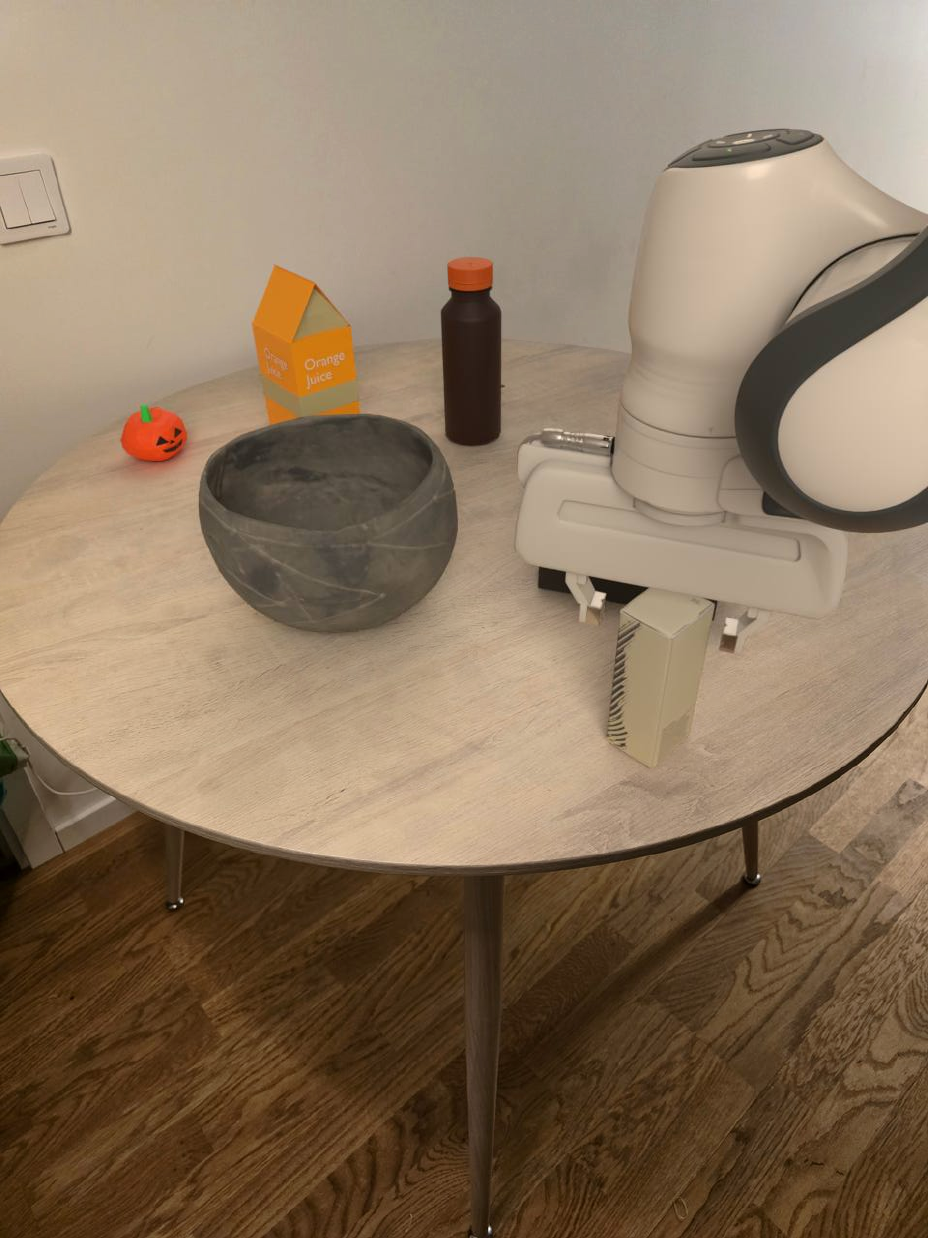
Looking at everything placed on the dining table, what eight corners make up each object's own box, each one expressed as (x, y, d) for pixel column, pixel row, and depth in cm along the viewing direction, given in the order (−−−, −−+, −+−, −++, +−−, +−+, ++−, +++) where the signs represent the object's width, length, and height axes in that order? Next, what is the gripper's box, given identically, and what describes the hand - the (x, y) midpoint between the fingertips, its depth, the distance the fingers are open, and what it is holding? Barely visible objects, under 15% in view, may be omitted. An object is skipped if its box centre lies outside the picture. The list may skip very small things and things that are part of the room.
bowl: (188, 596, 80) (148, 450, 71) (379, 519, 90) (365, 382, 81) (297, 722, 67) (265, 563, 58) (507, 615, 77) (508, 465, 68)
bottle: (511, 437, 104) (513, 265, 92) (463, 452, 101) (459, 276, 89) (482, 416, 109) (480, 250, 96) (435, 430, 106) (427, 260, 94)
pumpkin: (196, 438, 106) (184, 388, 102) (181, 470, 100) (168, 418, 96) (137, 440, 106) (123, 390, 102) (119, 472, 99) (103, 420, 95)
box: (644, 707, 67) (664, 573, 59) (692, 736, 65) (719, 600, 57) (601, 743, 65) (616, 607, 57) (650, 774, 62) (673, 637, 54)
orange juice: (308, 467, 99) (281, 290, 87) (271, 441, 105) (240, 271, 92) (365, 447, 103) (347, 274, 91) (326, 422, 108) (304, 256, 96)
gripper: (503, 446, 50) (499, 629, 59) (878, 505, 45) (813, 697, 54) (532, 402, 55) (525, 578, 64) (876, 450, 49) (816, 635, 58)
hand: (659, 633), depth 59 cm, fingers open, 8 cm apart
